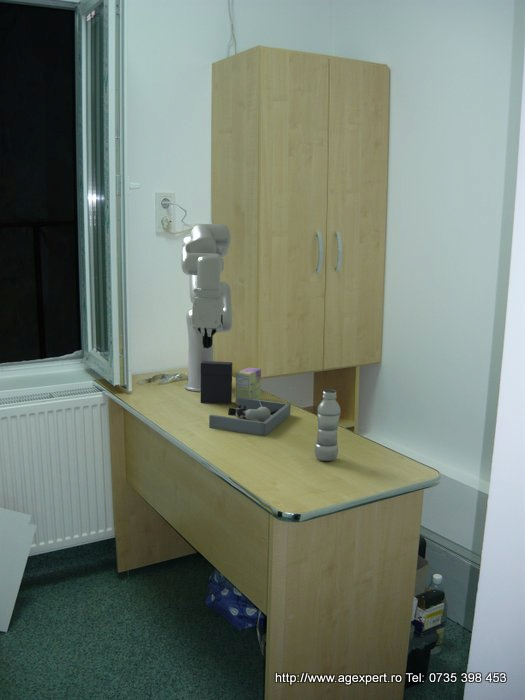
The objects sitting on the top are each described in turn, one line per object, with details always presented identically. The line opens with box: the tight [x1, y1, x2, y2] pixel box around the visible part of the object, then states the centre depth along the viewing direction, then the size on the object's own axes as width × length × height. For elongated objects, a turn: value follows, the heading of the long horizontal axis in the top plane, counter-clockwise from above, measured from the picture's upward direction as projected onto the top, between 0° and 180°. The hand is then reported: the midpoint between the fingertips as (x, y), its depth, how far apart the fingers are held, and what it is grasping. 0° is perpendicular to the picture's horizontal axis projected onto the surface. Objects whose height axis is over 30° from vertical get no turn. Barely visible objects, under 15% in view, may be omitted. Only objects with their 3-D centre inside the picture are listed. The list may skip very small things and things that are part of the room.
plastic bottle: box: [314, 389, 342, 462], centre depth 189 cm, size 6×7×20 cm
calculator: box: [200, 360, 233, 405], centre depth 243 cm, size 11×4×15 cm, turn 84°
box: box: [234, 367, 262, 405], centre depth 246 cm, size 10×6×12 cm, turn 156°
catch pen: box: [208, 397, 292, 437], centre depth 224 cm, size 24×19×4 cm
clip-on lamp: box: [227, 402, 280, 422], centre depth 227 cm, size 12×6×18 cm
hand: (207, 347), depth 228 cm, fingers closed
